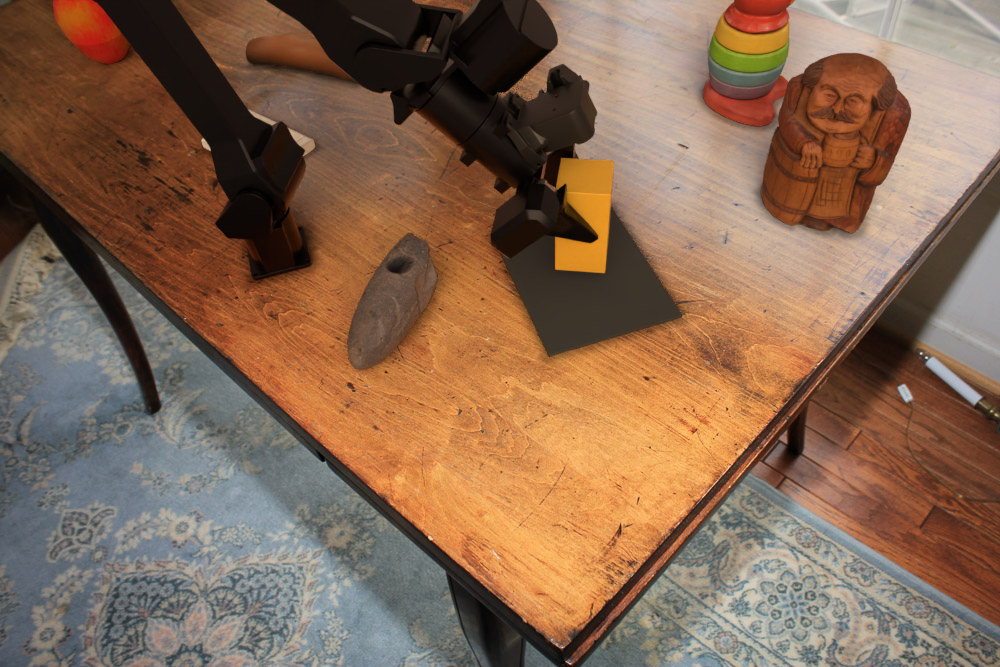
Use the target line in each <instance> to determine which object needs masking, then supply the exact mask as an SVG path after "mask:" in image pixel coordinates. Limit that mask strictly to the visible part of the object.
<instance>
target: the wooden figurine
mask: <svg viewBox="0 0 1000 667" xmlns="http://www.w3.org/2000/svg"><path fill="white" fill-rule="evenodd" d="M911 118H912V107H911V104H910V102H909V100H908V98H907V97H906V96H905V95H904V94H903V93H902V92H901V91H900V90H899V89H898V84H897V82H896V79H895V76H894V75H893V74H892V71H890V69H888V67H887V66H886V65H885V64H884V63H883V62H882V61H880V60H879V59H877V58H875V57H873V56H870V55H867V54H864V53H860V52H839V53H838V52H837V53H834V54H831V55H826V56H825V57H822V58H819V59H817V60H816V61H814V62H812V63H810V64H808V65H807V66H806V68H805V69H804V71H803V72H801V73H799V74H797V75H795V76H792V77H791V78H790V79H789V81H788V85H787V89H786V92H785V96H783V100H782V103H781V106H780V108H779V111H778V115H777V123H778V126H777V127H776V128H775V130H774V131H773V134H772V137H771V142H770V144H769V149H768V153H767V156H766V160H765V161H766V162H765V165H764V169H763V173H762V174H763V176H762V182H761V188H760V195H761V198H762V202H763V204H764V207H765V209H766V210H768V211H769V213H770V214H771V216H773V217H774V218H776V219H777V220H779V221H781V222H782V223H785V224H786V225H789V226H797V225H802V226H805V227H807V228H809V229H816V230H819V231H823V232H827V231H830V230H831V229H833V228H838V229H841V230H842V231H845V232H847V233H850V234H854V233H855V232H856V231H858V230H859V229H860V227H861V226H862V225H863V223H864V222H865V218H866V215H867V213H868V211H869V209H870V207H871V205H872V203H873V199H874V196H875V192H876V190H877V187H878V186H881V185H882V184H883V183H884V182H885V181H886V179H887V177H888V175H889V174H890V171H891V169H892V167H893V165H894V163H895V161H896V157H897V155H898V153H899V151H900V149H901V147H902V143H903V141H904V139H905V136H906V134H907V131H908V129H909V125H910V122H911Z"/></svg>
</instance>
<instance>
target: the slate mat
mask: <svg viewBox="0 0 1000 667" xmlns="http://www.w3.org/2000/svg"><path fill="white" fill-rule="evenodd" d="M499 254H500V256H501V258H502V260H503V262H504V265H505V267H506V269H507V272H508V273H509V275H510V278H511V279H512V281H513V284H514V286H515V288H516V290H517V293H518V294H519V297H520V298H521V300H522V303H523V305H524V307H525V309H526V311H527V313H528V316H529V317H530V320H531V322H532V324H533V326H534V328H535V330H536V332H537V335H538V337H539V339H540V341H541V343H542V345H543V348H544V350H545V352H546V355H547V357H549V358H550V357H554V356H557V355H560V354H564V353H568V352H571V351H573V350H577V349H581V348H584V347H588V346H591V345H594V344H597V343H601V342H605V341H608V340H611V339H614V338H617V337H621V336H624V335H628V334H631V333H634V332H638V331H642V330H645V329H648V328H652V327H654V326H658V325H661V324H665V323H668V322H671V321H675V320H679V319H681V318H683V314H682V312H681V311H680V309H679V308H678V306H677V304H676V303H675V302H674V300H673V298H672V297H671V296H670V294H669V292H668V291H667V289H666V288H665V286H664V285H663V283H662V282H661V280H660V278H659V277H658V275H657V274H656V273H655V271H654V269H653V268H652V266H651V264H650V263H649V262H648V260H647V259H646V257H645V256H644V254H643V253H642V251H641V249H640V248H639V246H638V245H637V243H636V242H635V240H634V239H633V237H632V236H631V234H630V232H629V231H628V230H627V228H626V226H625V224H624V222H622V221H621V219H620V217H619V216H618V214H617V212H616V211H615V209H614V208H613V207H612V206H611V212H610V225H609V239H608V249H607V260H606V270H605V273H594V272H580V271H567V270H555V237H553V236H546V235H544V236H543V237H542V238H540V239H539V240H537V241H536V242H534V243H533V244H531V245H530V246H528V247H527V248H525V249H524V250H523V251H521V252H520V253H518V254H517V255H515V256H514V257H512V258H511V259H509V258H507V257H505V256H504V255H503V254H501V253H500V252H499Z"/></svg>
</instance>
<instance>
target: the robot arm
mask: <svg viewBox="0 0 1000 667" xmlns="http://www.w3.org/2000/svg"><path fill="white" fill-rule="evenodd" d="M92 1H94V2H96V3H97V4H98V5H99V6H100V7H101V8H102V9H103V10H104V11H105V13H106V14H107V15H108V16H109V18H110V19H111V20H112V22H113V23H114V24H115V25H116V27H117V28H118V29H119V31H120V32H121V33H122V34H123V36H124V37H125V38H126V40H127V41H128V42H129V43H130V47H132V49H133V50H134V51H135V52H136V54H137V55H138V56H139V58H140V59H141V60H142V61H143V63H144V64H145V65H146V67H147V68H148V69H149V71H150V72H151V73H152V74H153V76H154V77H155V78H156V80H157V81H158V82H159V83H160V85H161V86H162V87H163V89H164V90H165V91H166V92H167V93H168V95H169V96H170V97H171V99H172V100H173V101H174V102H175V104H176V105H177V106H178V107H179V109H180V110H181V112H182V113H183V114H184V115H185V117H186V118H187V119H188V121H189V122H190V123H191V124H192V126H193V127H194V128H195V129H196V131H197V132H198V133H199V134H200V136H201V137H202V139H203V138H204V139H205V141H206V142H207V144H208V145H209V147H210V150H211V151H210V154H211V158H212V163H213V167H214V168H213V169H214V173H215V177H216V181H217V183H218V184H219V186H220V188H221V190H222V191H223V193H224V194H225V196H226V198H227V199H228V200H227V202H226V203H225V204H224V207H223V208H222V210H221V212H220V213H219V216H218V217H217V219H216V221H215V224H214V225H215V226H216V227H217V229H218V230H219V231H220V232H221V233H222V234H223V235H224V236H225V237H226V238H227V239H230V240H231V239H232V240H244V243H245V245H246V249H247V255H248V256H247V258H248V262H249V269H250V270H249V271H250V276H251V278H252V280H254V281H260V280H263V279H267V278H271V277H275V276H278V275H283V274H286V273H290V272H294V271H297V270H302V269H305V268H309V267H310V266H312V264H313V262H312V257H311V253H310V248H309V244H308V240H307V234H306V231H305V228H304V226H302V225H301V226H299V225H298V224H297V222H296V219H295V217H294V214H293V211H292V209H291V206H290V205H291V203H292V201H293V199H294V197H295V195H296V193H297V192H298V189H299V187H300V185H301V183H302V181H303V178H304V176H305V173H306V168H307V163H306V160H305V158H304V156H303V155H304V153H305V150H304V149H303V148H302V147H301V146H300V145H298V143H297V142H296V141H295V140H294V139H293V137H292V135H291V133H290V131H289V129H288V128H289V127H288V125H287V124H286V123H285V122H284V121H282V120H279V121H276V122H277V123H275V124H274V125H270V124H268V123H266V122H264V121H262V120H260V119H258V118H256V117H254V116H253V115H252V114H251V113H250V111H249V110H250V109H249V108H248V107H247V106H246V104H245V103H244V101H243V100H242V99H241V97H240V95H238V93H237V92H236V90H235V89H234V87H233V86H232V85H231V83H230V81H229V80H228V79H227V77H226V76H225V74H224V73H223V71H222V70H221V69H220V67H219V66H218V65H217V63H216V62H215V60H214V59H213V58H212V56H211V54H210V53H209V52H208V50H207V49H206V47H205V46H204V45H203V44H202V42H201V41H200V39H199V38H198V37H197V35H196V33H195V32H194V31H193V29H192V28H191V27H190V25H189V23H188V21H186V20H185V18H184V16H183V15H182V14H181V12H180V11H179V10H178V8H177V6H176V5H175V4H174V2H173V1H172V0H92ZM265 1H266V2H267V3H269V5H270V4H271V5H272V6H274V8H276V9H278V10H280V11H281V12H282V13H284V14H286V15H287V16H288V17H290V18H292V19H293V20H295V21H296V22H298V23H299V24H300V25H302V26H303V27H304V28H305V29H306V30H308V31H309V32H310V34H312V35H314V37H315V38H316V40H317V41H318V43H319V44H320V46H321V47H322V49H323V50H324V52H325V53H326V55H327V56H328V58H329V59H330V60H331V61H332V62H333V63H334V64H336V65H337V66H338V67H339V68H340V69H341V70H343V71H344V72H345V73H346V74H347V75H348V76H350V77H351V78H352V79H353V80H354V81H356V82H357V84H358V85H359V86H360V87H362V88H364V89H365V90H368V91H370V92H371V93H375V94H379V95H382V94H384V93H389V92H390V94H389V98H390V100H391V103H392V110H393V112H392V113H393V123H394V124H395V125H396V126H401V125H403V124H404V123H405V122H406V121H407V120H408V119H409V118H410V116H412V115H413V114H414V113H416V114H417V115H418V116H420V117H421V118H422V119H423V120H425V121H426V122H427V123H429V125H431V126H432V127H433V128H435V130H437V131H439V133H441V134H442V135H443V136H444V137H446V139H448V140H449V141H451V142H452V143H453V144H454V145H456V146H457V147H458V148H459V149H460V150H461V153H460V157H459V162H461V163H462V164H463V165H464V166H466V167H467V168H469V167H470V166H471V165H472V164H474V163H475V162H476V163H477V164H479V165H480V166H481V167H482V168H483V169H485V170H486V171H487V172H488V173H489V174H491V175H492V176H493V177H495V180H494V184H493V189H494V190H496V191H497V192H498V193H499V194H500V195H503V194H504V193H505V192H507V191H508V190H510V189H511V188H512V189H514V190H515V193H514V194H513V196H512V197H510V198H509V199H507V200H506V201H505V202H504V203H503V204H501V205H500V206H498V207H497V208H496V210H495V213H494V217H493V222H492V226H491V231H490V234H489V236H490V246H491V247H492V248H493V249H494V250H496V251H497V252H498V253H499V254H500V253H501V254H503V255H504V256H505V257H507V258H509V259H511V258H512V257H514V256H515V255H517V254H518V253H520V252H521V251H523V250H524V249H525V248H527V247H528V246H530V245H531V244H533V243H534V242H536V241H537V240H539V239H540V238H542V237H543V236H544V235H546V236H553V237H559V238H564V239H569V240H574V241H580V242H585V243H593V242H594V241H596V240H598V234H597V233H596V232H595V231H594V229H593V228H592V227H591V226H590V225H589V224H588V223H587V222H586V221H585V220H584V219H583V218H582V216H581V215H580V214H579V213H578V212H577V211H576V210H575V209H574V208H573V207H572V206H571V205H570V204H569V203H568V202H567V184H564V185H563V186H561V187H560V188H559V189H557V190H555V189H556V183H557V178H558V172H559V166H560V160H561V158H573V159H580V157H579V155H578V153H577V151H576V145H582V144H585V143H587V142H588V141H590V140H591V139H592V138H593V137H594V135H595V133H596V128H595V126H596V125H595V124H596V117H597V116H598V111H597V108H596V106H595V104H594V101H593V100H592V98H591V96H590V93H589V92H590V86H591V84H590V82H589V81H588V80H587V79H583V77H582V75H581V74H577V73H576V72H575V71H574V70H572V69H571V68H570V67H569V66H567V65H566V64H564V63H561V64H558V65H556V66H553V67H550V68H549V69H548V71H547V72H548V73H547V77H546V89H545V90H544V89H543V88H542V89H540V90H538V92H537V93H538V94H537V96H536V97H534V98H531V99H530V100H526V99H524V98H523V97H522V96H521V95H519V94H518V93H517V92H515V93H513V92H512V91H510V90H511V89H512V88H513V87H515V85H516V84H518V83H519V82H520V81H521V80H522V79H523V78H524V77H526V75H528V74H529V72H531V71H532V70H533V69H534V68H535V67H536V66H537V65H538V64H540V62H542V61H543V60H544V59H545V58H546V57H548V55H549V54H550V53H551V52H553V51H554V50H555V49H556V48H557V46H558V45H559V36H558V32H557V29H556V27H555V24H554V22H553V20H552V19H551V17H550V15H549V14H548V12H547V11H546V9H545V8H544V7H543V5H541V4H540V2H539V1H538V0H476V1H475V2H474V3H473V4H472V5H471V7H469V8H468V9H467V11H466V12H465V13H464V10H461V9H457V8H451V7H443V6H437V5H431V4H424V3H417V2H415V1H414V0H265ZM428 39H430V40H429V43H428V44H427V45H428V46H427V48H426V51H423V50H424V48H425V45H426V42H427V40H428ZM353 80H352V81H353ZM354 81H353V82H354ZM356 82H355V83H356ZM505 93H506V94H505ZM501 94H505V95H504V96H502V95H501ZM248 109H249V110H248ZM501 254H500V255H501Z"/></svg>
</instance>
